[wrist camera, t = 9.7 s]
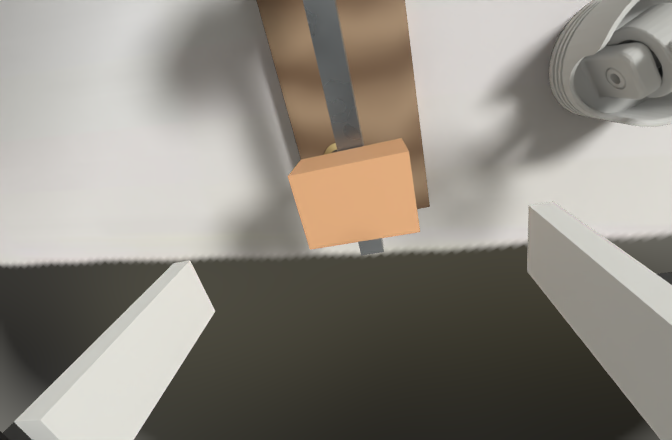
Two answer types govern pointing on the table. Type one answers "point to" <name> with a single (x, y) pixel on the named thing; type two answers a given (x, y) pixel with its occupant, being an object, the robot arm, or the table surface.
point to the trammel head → (356, 194)
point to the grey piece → (336, 83)
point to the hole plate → (366, 74)
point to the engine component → (616, 62)
